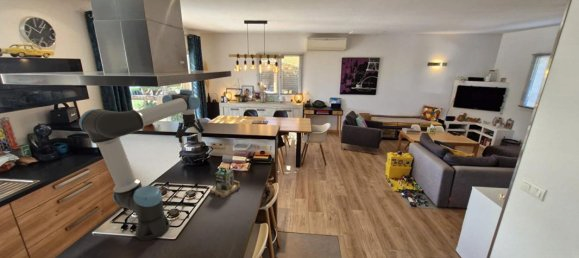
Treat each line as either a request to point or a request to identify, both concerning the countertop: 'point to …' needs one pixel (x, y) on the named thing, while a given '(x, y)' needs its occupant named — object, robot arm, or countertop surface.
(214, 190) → the dock
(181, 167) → the countertop surface
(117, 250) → the countertop surface
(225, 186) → the chalk box
